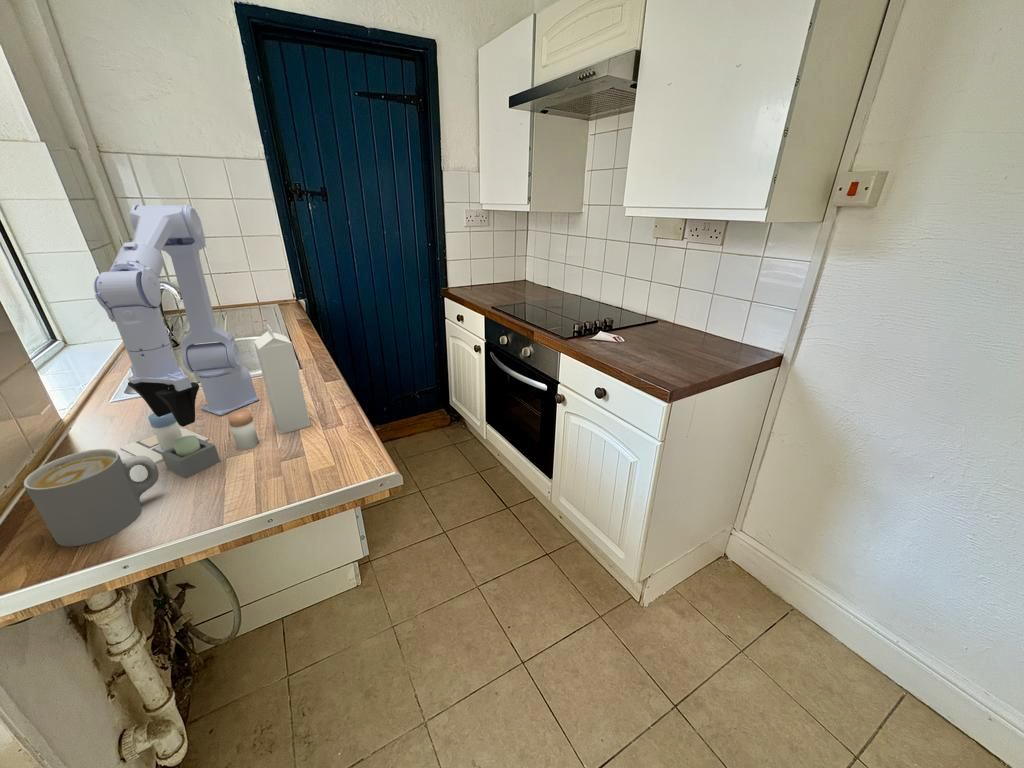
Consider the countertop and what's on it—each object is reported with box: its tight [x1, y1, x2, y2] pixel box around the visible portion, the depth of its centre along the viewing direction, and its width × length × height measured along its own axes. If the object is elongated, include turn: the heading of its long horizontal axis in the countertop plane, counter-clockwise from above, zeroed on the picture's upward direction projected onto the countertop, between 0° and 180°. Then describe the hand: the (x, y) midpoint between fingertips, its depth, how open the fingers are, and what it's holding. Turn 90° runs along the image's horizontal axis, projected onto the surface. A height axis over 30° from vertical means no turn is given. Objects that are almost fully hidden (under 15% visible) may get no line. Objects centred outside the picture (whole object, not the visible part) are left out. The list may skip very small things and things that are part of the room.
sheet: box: [120, 426, 209, 465], centre depth 85 cm, size 10×12×1 cm
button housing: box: [161, 438, 221, 479], centre depth 78 cm, size 6×6×4 cm
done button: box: [173, 435, 201, 458], centre depth 77 cm, size 4×4×4 cm
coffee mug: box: [23, 448, 160, 547], centre depth 64 cm, size 13×10×10 cm
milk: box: [253, 324, 311, 435], centre depth 88 cm, size 6×6×22 cm
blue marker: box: [148, 412, 183, 451], centre depth 82 cm, size 4×4×7 cm
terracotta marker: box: [226, 408, 259, 451], centre depth 83 cm, size 4×4×7 cm
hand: (175, 419), depth 75 cm, fingers open, 7 cm apart
